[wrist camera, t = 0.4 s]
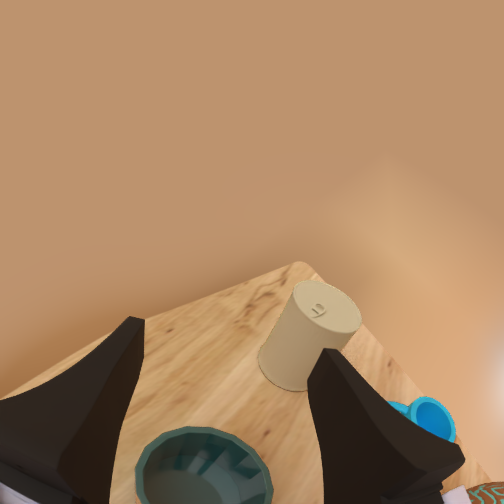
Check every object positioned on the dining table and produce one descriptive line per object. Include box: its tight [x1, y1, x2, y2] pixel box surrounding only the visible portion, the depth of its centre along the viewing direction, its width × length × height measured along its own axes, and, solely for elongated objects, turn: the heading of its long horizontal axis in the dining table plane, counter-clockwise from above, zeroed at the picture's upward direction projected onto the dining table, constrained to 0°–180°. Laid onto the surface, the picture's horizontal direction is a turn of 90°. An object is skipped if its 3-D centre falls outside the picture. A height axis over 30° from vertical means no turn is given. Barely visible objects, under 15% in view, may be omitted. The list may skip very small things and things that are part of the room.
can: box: [258, 280, 362, 392], centre depth 36 cm, size 9×9×12 cm
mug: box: [387, 397, 456, 442], centre depth 28 cm, size 12×8×8 cm
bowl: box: [135, 426, 274, 504], centre depth 18 cm, size 10×10×7 cm
